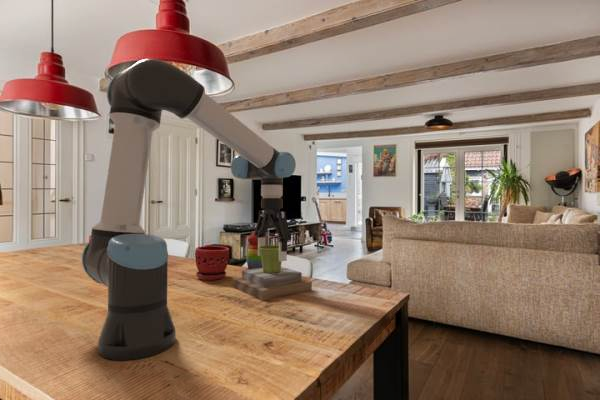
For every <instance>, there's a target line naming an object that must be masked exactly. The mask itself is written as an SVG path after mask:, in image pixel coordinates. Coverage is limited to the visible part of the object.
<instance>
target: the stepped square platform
mask: <svg viewBox="0 0 600 400" xmlns="http://www.w3.org/2000/svg"><path fill="white" fill-rule="evenodd" d="M302 277H303V276H302V272H301V271H297V270H294V269H291V268H287V267H284V266H281V271H280V272H275V273H266V272H263V268H257V269H249V270H246V269H243V270H242V271H241V276H239V277H236V278H235V277H233V278H232V288H234V289H236V290H238V291H240V292H242V293H245V294H247V295H249V296H251V297H253V298H256V299H257V300H260V301H267V300H270V299H275V298H279V297H285V296H290V295H295V294H296V295H297V294H299V293H301V294H302V293H305V292H309V291H312V283H313V282H312V281H311V280H308V279H304V278H302Z"/></svg>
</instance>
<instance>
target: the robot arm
mask: <svg viewBox="0 0 600 400" xmlns="http://www.w3.org/2000/svg"><path fill="white" fill-rule="evenodd" d="M106 98H107V103H108V104H109V106H110V109H109V118H110V120H111V121H112V122H113V123H114V130H113V135H112V142H111V149H110V156H109V163H108V170H107V175H106V176H107V177H106V182H105V183H106V184H105V190H104V195H103V196H104V197H103V204H102V209H101V215H100V216H101V217H100V221H99V222H98V223H96V224H95V225H93V226H92V229H91V232H90V233H91V234H90V238H89V239H90V240H89V242H88V243H87V244H86V245H85V247H84V249H83V250H82V254H81V265H82V268H83V270H84V272H85V273H86V274H87V276H88V277H89V278H91V279H92V280H93V281H94V282H96V283H97V284H100V285H103V286H105V287H107V315H106V316H105V321H104V324H103V326H102V329H101V332H100V335H99V337H98V343H97V347H98V348H97V352H98V355H100V356H101V357H102V358H104V359H108V360H113V361H129V360H130V361H131V360H137V359H143V358H147V357H151V356H154V355H157V354H159V353H162V352H164V351H166V350H167V349H168V350H169V348H170V347H172V346H173V345H174V344H175V342H176V336H177V335H176V326H175V325H174V321H173V319H172V315H171V313H170V309H169V307H168V265H169V264H168V262H169V261H168V260H169V252H168V244H167V241H166V240H165V239H164V238H163V237H161V236H158V235H155V234H146V231H145V230H144V228H143V227H142V225H141V223H140V222H141V216H142V209H143V208H142V207H143V202H144V197H145V196H144V194H145V188H146V187H145V186H146V181H147V180H146V179H147V173H148V165H149V159H150V150H151V145H152V137H153V133H154V131H156V130H157V129H160V125H161V121H162V112H163V111H167V112H168V113H171V114H173V115H175V116H176V117H178V118H179V119H181V120H182V119H188V120H190V121H191V122H193V123H194V124H196V125H197V126H199V128H201V130H202V129H203V130H204V131H205V132H207V133H208V134H209V135H211V136H212V137H214V138H215V139H217V140H218V141H219V142H221V143H223V144H224V145H225V146H226V147H228V148H229V149H231V150H232V151H234V152H235V153H236V154H238V155H235V156H234V157H233V159H231V164H230V172H231V174H232V176H233V177H234V178H236V179H240V180H257V181H258V180H259V181H260V184H261V185H260V187H261V188H260V196H261V197H262V198H260V200H261V201H260V208H261V209H263V210H259V211H258V218H257V222H256V226H255V229H254V231H253V232H254V234H255V235H257V237H258V247H259V246H266V239H265V237H266V233H267V231H268V229H269V227H270V225H272V226H273V227H274V229H275V231H276V233H277V237H278V238H279V240H278V245H279V261H282V262H285V261H288V260H287V255H288V253H287V251H288V241H291V240H292V234H291V232H290V227H289V224H288V220H287V212H286V211H281V209H283V207H284V205H283V203H284V201H283V200H284V199H283V198H282V197H283V193H284V192H283V190H284V189H283V188H284V187H283V185H284V184H283V183H284V182H283V181H284V178H289V177H291V176H292V175H293V174H294V173H295V171H296V167H297V164H296V159H295V157H294V155H293V153H290V152H288V151H278V150H277V149H276V148H275V147H273V146H272V145H271V144H270V143H268V142H267V141H266V140H264V139H263V138H262V137H260V136H259V135H258V134H257V133H256V132H254V131H253V130H252V129H250V128H249V127H248V126H247V125H245V124H244V123H243V122H242V121H240V120H239V119H238V118H237V117H235V116H234V115H233V114H232V113H230V111H228V110H227V109H226V108H224V107H223V106H222V105H221V104H220V103H218V102H217V101H216V100H215V99H214V98H212V97H210V95H208V94H207V93H206V88H205V86H203V84H202V83H200V82H199V81H198V80H196V79H195V78H194V77H192V75H190V74H188V73H187V72H185V71H184V70H182V69H180V68H179V67H177V66H176V65H173V64H172V63H170V62H167V61H165V60H162V59H161V60H160V59H157V58H145V59H141V60H139V61H137V62H136V63H134V64H133V65H131V66H129V67H128V68H126V69H125V70H122V71H120V72H119V73H118V72H117V74H116V75H115V76H114V77H113V78H112V80H111V81H110V82H109V84H108V86H107V90H106ZM258 256H261V253H260V250H259V249H258Z"/></svg>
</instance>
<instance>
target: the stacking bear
mask: <svg viewBox="0 0 600 400" xmlns="http://www.w3.org/2000/svg"><path fill="white" fill-rule="evenodd" d="M254 232H255V231H253V232H251V234H249V235H250V236H249V237H248V238H247V241H248V243H249V244H250V245H249V246H248V248H247V254H246V264H247V268H246V269H245V270H249V269H257V268H263V267H262V260H261V256H258V237H257V235H255V234H254ZM265 240H266V237H265Z"/></svg>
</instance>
